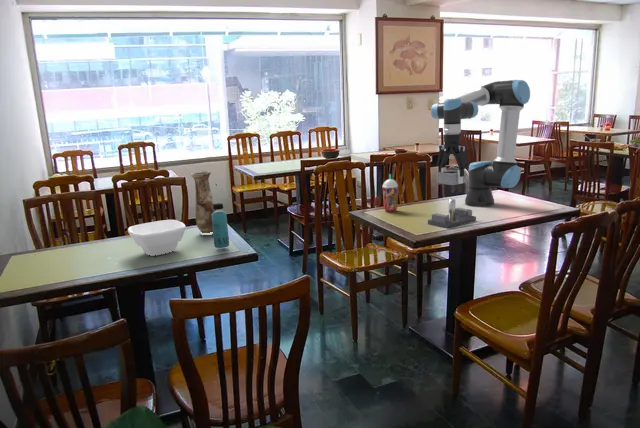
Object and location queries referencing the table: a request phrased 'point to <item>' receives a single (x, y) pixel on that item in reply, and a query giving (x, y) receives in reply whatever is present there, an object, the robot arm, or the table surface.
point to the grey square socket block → (450, 177)
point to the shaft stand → (452, 217)
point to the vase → (203, 201)
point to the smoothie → (390, 195)
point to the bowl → (158, 236)
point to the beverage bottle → (220, 227)
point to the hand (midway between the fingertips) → (451, 182)
